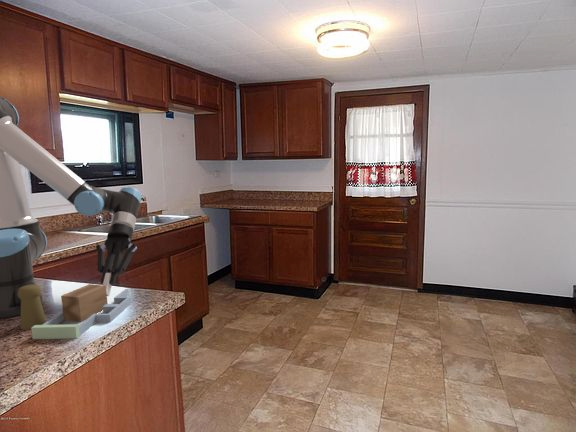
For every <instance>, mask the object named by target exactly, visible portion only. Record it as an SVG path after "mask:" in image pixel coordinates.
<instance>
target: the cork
mask: <svg viewBox="0 0 576 432" xmlns="http://www.w3.org/2000/svg"><path fill="white" fill-rule="evenodd" d="M40 294H42V288H41V286H40V285H38V284H37V285H35V284H32V285H26V286H23V287H21V288H19V290H18V297H19V298H20V299H21V315H20V323H19V324H20V327H19V329H20V330H24V331H26V330H27V331H28V330H32V329H31V328H32V327H33V326H35V325H42V324H44V323H45V322H47V321H48V320H47V318H46V315H45V312H44V311H45V310H44V308H43V305H42V304H41V301H40V297H39V296H40Z"/></svg>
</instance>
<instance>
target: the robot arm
mask: <svg viewBox="0 0 576 432" xmlns="http://www.w3.org/2000/svg"><path fill="white" fill-rule="evenodd" d="M19 122H20V117H19V113H18V111H17V109H16V107H15V105H13V104H12V103H11V102H10V101H8V100H7V99H6V98H4V97H3V96H0V319H5V318H10V317H11V318H12V317H17V316H21V299H20V298H19V297H18V290H19V288H21V287H23V286H26V285H32V284H35V285H38V284H37V283H36V281H35V276H34V268H33V262H34V261H36V260H38V259H39V258H41V256H42V255H43V254H44V253H45V251H46V248H47V245H48V239H47V236H46V233H45V232H44V231H43V230H42V229H41V226H40V223H39V220H38V218H36V217H34V216H32V211H31V208H30V203H29V199H28V194H27V190H26V186H25V182H24V178H23V173H22V169H21V166H23V167H24V168H25V169H27V171H29V172H30V173H32V174H33V175H34V176H36V177H37V178H38V179H39V180H41V181H42V182H43V183H45V184H46V185H47V186H49V187H50V188H51V189H53V191H55V192H56V193H58V194H59V195H60V196H62V198H64V199H65V200H66V201H67V202H69V203H70V204H72V206H73V207H74V209H75V210H76V212H77V213H79V214H80V215H82V216H86V217H91V216H95V215H97V214H99V213H100V212H104V213H105V212H106V213H112V214H113V215H112V217H111V222H110V224H109V225H110V226H109V229H108V233H107V238H106V239H105V241H104V243H103V244H100V245H99V244H97V245H96V246H95V248H96V251H97V272H99V274H100V275H101V279H100V285H104V286H106V293H107V297H109V296H110V295H111V294H110V293H111V289H112V286H114V285H115V284H116V280H117V277H118V276H119V275H123V274H124V273H125V271H126V270H127V268H128V266H129V264H130V262H131V260H132V257H133V256H134V254H135V253H136V252H137V251H138V250H139V249H138V247H137V246H136V244H135V243H132V239H133V235H134V231H135V227H136V223H137V218H138V215H139V210H140V206H141V203H142V202H141V201H142V194H141V192H140V191H139V189H137V188H134V187H131V186H128V187H126V186H124V187H121V188H120V190H119V191H114V190H110V189H106V188H100V187H95V186H94V185H90V184H88V183H87V182H86V181H85V180H83V179H82V178H81V177H80V176H78V175H77V174H76V173H75V172H73V170H71V169H70V168H69V167H67V166H66V165H65V164H63V162H61V161H60V160H59V159H57V157H55V156H54V155H53V154H51V153H50V152H49V151H47V150H46V148H44V147H43V146H42V145H40V144H39V143H38V142H37V141H35V140H34V139H33V138H31V137H30V136H29V135H28V134H26V133H25V132H24V131H23V130H22V129H21V128H19V127H18V126H19ZM106 249H107V252H106ZM105 252H106V254H107V255H105ZM105 257H106V258H105ZM39 297H40V301H41V304H42V306H43V305H44V304H45V300H44V295H43V294H42V293H41V294H40V296H39Z"/></svg>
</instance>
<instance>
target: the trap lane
mask: <svg viewBox="0 0 576 432" xmlns="http://www.w3.org/2000/svg"><path fill="white" fill-rule="evenodd" d="M129 295H130V294H129V289H128V288H125V289H124V290H122V291H121V292H120V293H118V294H117V295H116V296H115V297H113V303H108V304H106V305H104V306H103V311H102V313H98V314H93V315H91V316H90V317H89V318H88V319H86V320H84V321H82V322H80V324H78V323H76V324H72V323H71V324H70V323H69V324H60V323H62V322H63V321H65V320H64V316H63V310H62V311H61V312H59V313H57V314H55V316H53V317H52V318H50V319H48V320H46V321H47V322H45V323H44V324H42V325H35V326H33V327H32V328H31V329H30V330H31V336H32V340H51V339H53V340H54V339H55V340H56V339H59V340H62V339H64V340H65V339H78V338H79V337H80V336H82V335H83V334H84V333H85V332H87V330H89V329H90V328H91V327H92V326H93V325H95V324H96V323H111V322H112V321H114V320H115V319H116V318H117V317H118V316H119V315H120V314H121V313H123V311H125V310H126V309H127V308H128V307H129V306H131V305H132V303H133V298H132V296H129ZM125 308H126V309H125ZM124 309H125V310H124ZM94 323H95V324H94Z"/></svg>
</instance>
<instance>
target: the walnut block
mask: <svg viewBox="0 0 576 432" xmlns="http://www.w3.org/2000/svg"><path fill="white" fill-rule="evenodd" d="M60 297H61V307H62V311H63V316H64V320H63V321H68V322H69V321H70V322H71V321H72V322H76V323H77V322H79V323H82V322H84V321H85V320H86V319H88V318H89V317H90V316H91V315H93V314H97V313H98V312H100V313H101V311H102V310H103V306H104V305H106V304H109V303H108V296H107V293H106V286H104V285H102V284H91V283H89V284H86V285H84V286H82V287H79V288H77V289H74V290H72V291H69V292H67V293H65V294H62V295H61V296H60ZM102 312H103V311H102ZM98 314H99V313H98Z"/></svg>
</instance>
